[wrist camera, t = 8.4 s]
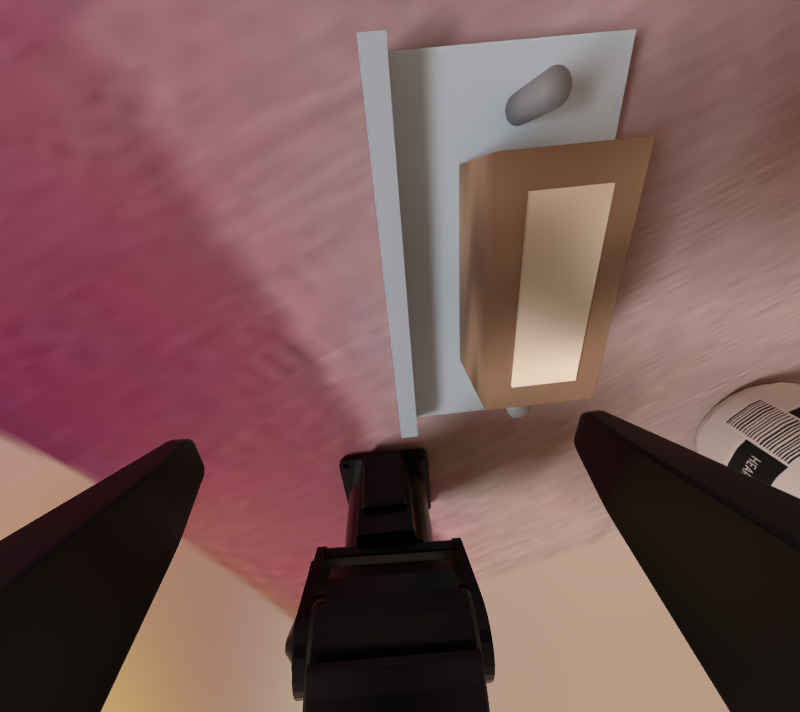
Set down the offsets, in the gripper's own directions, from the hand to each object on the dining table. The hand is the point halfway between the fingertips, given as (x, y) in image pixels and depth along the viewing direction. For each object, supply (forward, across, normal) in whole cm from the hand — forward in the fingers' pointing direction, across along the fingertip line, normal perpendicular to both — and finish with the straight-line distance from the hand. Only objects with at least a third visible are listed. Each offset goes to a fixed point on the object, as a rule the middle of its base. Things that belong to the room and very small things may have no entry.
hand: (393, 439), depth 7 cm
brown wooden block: (+11, -6, -1) cm, 13 cm away
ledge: (+12, -6, -1) cm, 13 cm away
